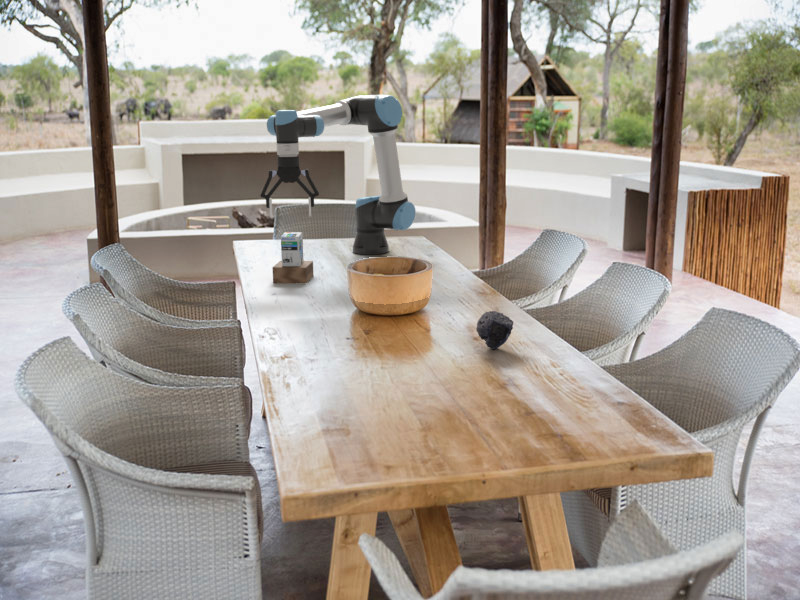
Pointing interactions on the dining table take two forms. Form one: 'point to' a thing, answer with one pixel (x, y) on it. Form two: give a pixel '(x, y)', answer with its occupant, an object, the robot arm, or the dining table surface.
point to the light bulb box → (292, 248)
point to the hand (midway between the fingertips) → (290, 216)
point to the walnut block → (293, 273)
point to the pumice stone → (494, 328)
